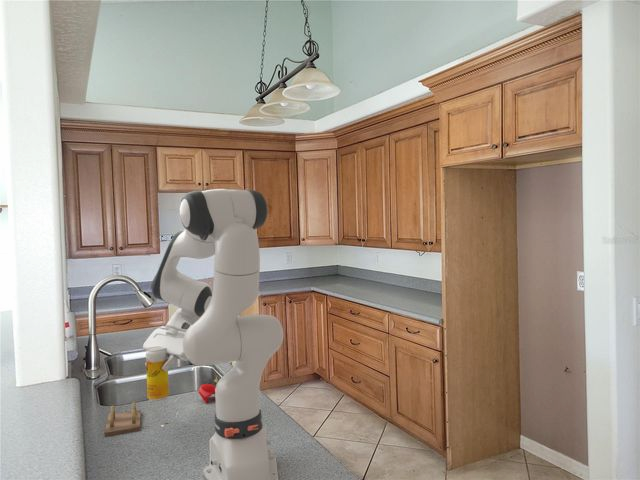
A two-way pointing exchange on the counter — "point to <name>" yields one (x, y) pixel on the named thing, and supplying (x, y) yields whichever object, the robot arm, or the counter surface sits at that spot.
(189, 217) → the robot arm
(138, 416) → the standoff plate
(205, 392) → the cap
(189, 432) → the counter surface
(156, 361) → the glass of beer
